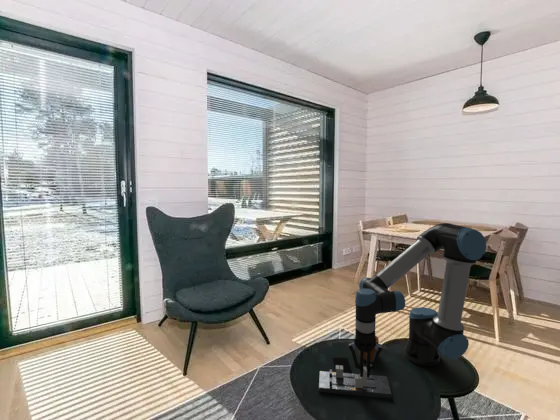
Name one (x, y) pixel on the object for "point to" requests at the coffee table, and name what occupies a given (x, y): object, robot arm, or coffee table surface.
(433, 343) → the robot arm
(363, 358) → the mug
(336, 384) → the console
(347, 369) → the smartphone
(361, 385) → the block
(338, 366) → the fader
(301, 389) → the coffee table surface
